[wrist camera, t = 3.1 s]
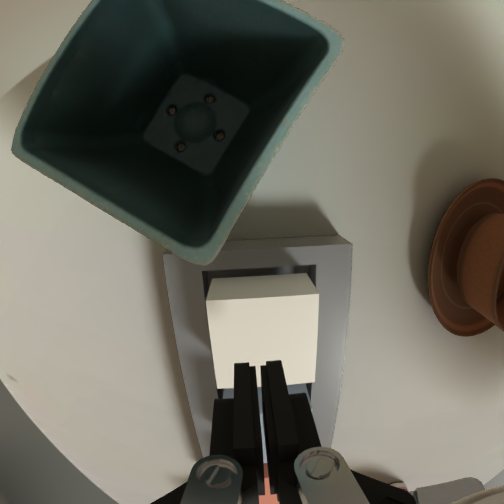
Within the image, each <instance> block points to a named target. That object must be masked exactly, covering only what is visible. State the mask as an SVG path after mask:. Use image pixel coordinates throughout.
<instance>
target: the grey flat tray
mask: <svg viewBox="0 0 504 504" xmlns="http://www.w3.org/2000/svg"><path fill="white" fill-rule="evenodd" d="M163 262H164V270H165V277H166V284H167V291H168V298H169V304H170V310H171V316H172V322H173V328H174V333H175V339H176V344H177V350H178V355H179V360H180V365H181V370H182V374H183V379H184V384H185V388H186V393H187V397H188V401H189V406H190V410H191V414H192V418H193V422H194V426H195V430H196V434H197V437H198V441H199V445H200V448H201V452H202V456H203V458H204V457H206V456H209V454H210V442H211V430H212V418H213V407H214V400H215V399H223V392H224V388H222V389H217V383H216V376H215V369H214V362H213V355H212V348H211V340H210V332H209V324H208V316H207V308H206V298H207V295H208V291H209V288H210V284H211V281H212V278H230V277H248V276H265V275H282V274H297V273H307V275H308V276H309V278H310V280H311V281H312V283H313V285H314V286H315V288H316V290H317V291H318V293H319V312H318V336H317V355H316V371H315V382H311V383H306V387H307V391H308V394H309V398H310V401H311V405H312V415H313V418H314V422H315V425H316V429H317V432H318V436H319V439H320V443H321V446H322V447H328V448H331V445H332V439H333V434H334V428H335V423H336V417H337V411H338V404H339V398H340V391H341V383H342V376H343V368H344V360H345V351H346V341H347V330H348V319H349V306H350V291H351V271H352V243H350V242H349V241H347V240H346V239H344V238H343V237H341V236H340V235H332V236H311V237H292V238H273V239H254V240H236V241H225V243H224V245H223V247H222V248H221V250H220V252H219V253H218V255H217V256H216V258H215V259H214V260H213V261H212V262H211V263H209V264H208V265H204V266H203V265H196V264H193V263H190V262H188V261H186V260H184V259H181V258H180V257H178V256H176V255H175V254H173V253H172V252H171V251H169V250H167V251H166V252H165V253H164V254H163Z"/></svg>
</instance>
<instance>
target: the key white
mask: <svg viewBox="0 0 504 504" xmlns="http://www.w3.org/2000/svg"><path fill="white" fill-rule="evenodd" d="M206 308H207V316H208V324H209V332H210V340H211V348H212V355H213V362H214V369H215V376H216V383H217V389H222V388H234V363H247V362H249V366H256V377H257V387H261V371H260V366H261V365H266V361H275V360H281V361H282V366H283V370H284V375H285V379H286V384H287V385H292V384H302V383H311V382H315V371H316V355H317V336H318V312H319V293H318V291H317V290H316V288H315V286H314V285H313V283H312V281H311V280H310V278H309V276H308V275H307V273H297V274H282V275H265V276H248V277H230V278H212V281H211V284H210V288H209V291H208V295H207V298H206Z"/></svg>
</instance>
